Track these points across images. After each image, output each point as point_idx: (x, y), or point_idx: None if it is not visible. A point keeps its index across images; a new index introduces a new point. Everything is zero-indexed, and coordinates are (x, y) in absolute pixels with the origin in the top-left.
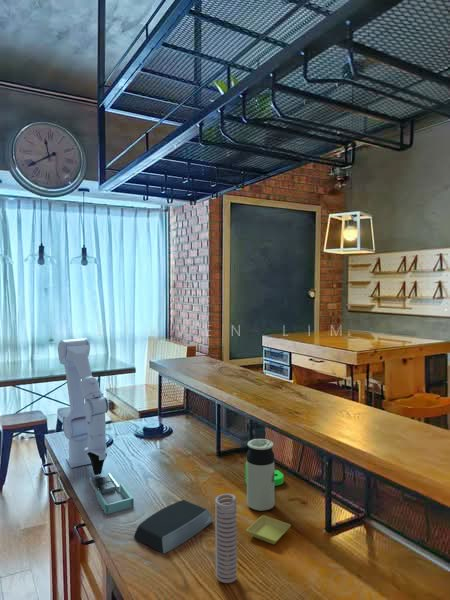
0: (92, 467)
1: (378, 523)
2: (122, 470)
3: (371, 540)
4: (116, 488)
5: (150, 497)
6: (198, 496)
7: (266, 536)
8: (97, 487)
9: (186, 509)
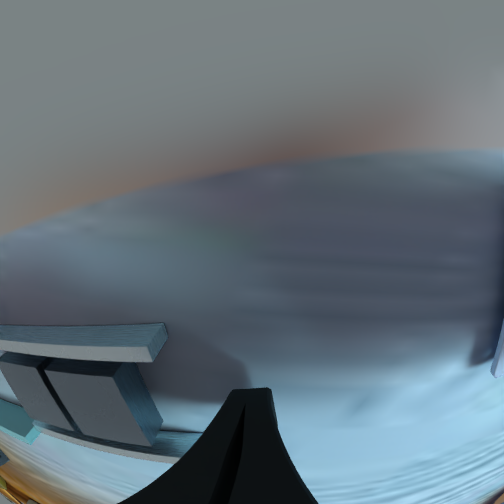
0: (260, 426)
1: None
2: None
3: (9, 497)
4: None
5: (30, 451)
6: (55, 498)
7: None
8: (10, 350)
9: None
